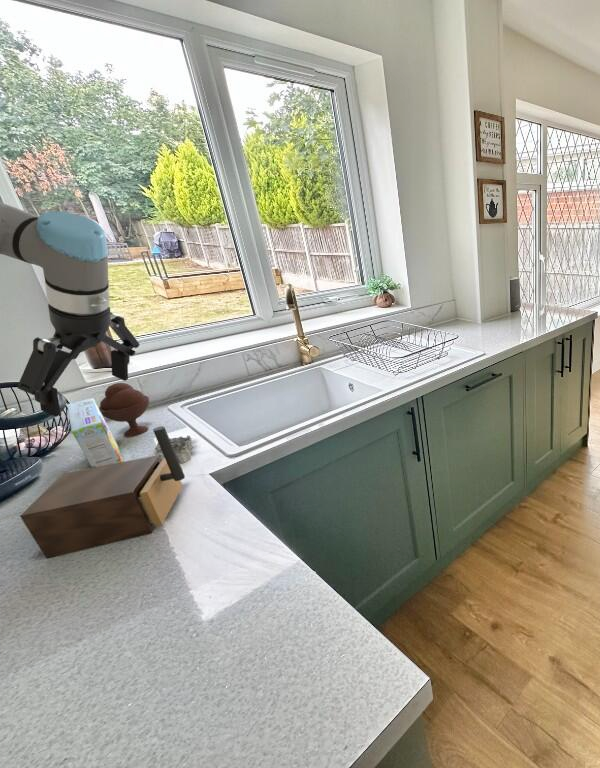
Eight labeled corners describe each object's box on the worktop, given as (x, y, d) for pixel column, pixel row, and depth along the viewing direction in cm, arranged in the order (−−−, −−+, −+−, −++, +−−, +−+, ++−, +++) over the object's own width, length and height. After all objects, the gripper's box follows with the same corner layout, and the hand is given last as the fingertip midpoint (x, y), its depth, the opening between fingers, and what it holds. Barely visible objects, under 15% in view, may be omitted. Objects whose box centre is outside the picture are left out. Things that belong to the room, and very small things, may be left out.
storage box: (174, 492, 94) (158, 454, 90) (151, 533, 82) (132, 492, 78) (85, 512, 88) (63, 473, 84) (46, 558, 76) (19, 516, 72)
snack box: (91, 454, 110) (65, 403, 104) (118, 446, 114) (95, 396, 108) (98, 487, 96) (69, 430, 90) (130, 476, 100) (104, 421, 94)
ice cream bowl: (101, 440, 117) (77, 392, 111) (139, 421, 127) (120, 376, 121) (132, 443, 115) (110, 394, 109) (169, 423, 125) (150, 378, 119)
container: (202, 481, 95) (175, 413, 88) (184, 519, 83) (151, 443, 76) (92, 505, 88) (54, 433, 81) (56, 549, 77) (7, 470, 70)
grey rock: (191, 462, 105) (185, 448, 104) (154, 471, 102) (148, 457, 100) (196, 443, 114) (191, 430, 112) (162, 450, 110) (156, 437, 109)
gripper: (19, 343, 62) (37, 439, 72) (162, 292, 83) (160, 372, 94) (-33, 320, 61) (-8, 421, 71) (125, 274, 82) (127, 357, 93)
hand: (87, 393), depth 82 cm, fingers open, 13 cm apart
